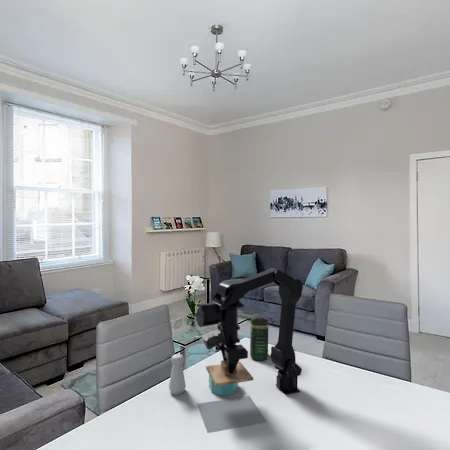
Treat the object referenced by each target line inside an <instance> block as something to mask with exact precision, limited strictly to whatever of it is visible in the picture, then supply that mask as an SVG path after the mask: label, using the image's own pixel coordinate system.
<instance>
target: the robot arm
mask: <svg viewBox="0 0 450 450" xmlns="http://www.w3.org/2000/svg"><path fill="white" fill-rule="evenodd" d="M272 283H273V284H274V285H276V286H277V287H278V294H279V295H278V296H279V298H280V300H281V306H280V307H281V310H280V318H279V328H278V338H277V343H276V344H275V345H274V346H271V347H270V355H269V358H270V361H271V363H272V364H273V366H274V368H275V369H276V370H277V374H276V380H275V381H276V384H275V386H276V388H277V389H278V390H279V391H280V392H281V393H282V394H284V395H289V394H294V393H295V394H297V393H300V392H301V390H300V389H299V388H298V378H299V376H301V374H302V371H303V369H302V367H301V366H300V365H298V364H297V362H296V361H297V360H296V353H295V349H294V347H293V339H294V330H295V329H294V327H295V319H296V317H295V316H296V306H297V304H298V302H299V300H300V298H301V297H302V293H303V290H304V284H303V282H302V281H301V280H300V279H298V278H294V277H292V276H290V275H288V274H286V273H284V272H283V271H281V270H280V269H277V268H273V267H270V268H268V269H267V270H264V271H261V272H259V273H256V274H252V275H250V276H248V277H244V278H242V279H231V280H225V281H222V282H220V283H219V285H218V287H217V289H216V292H215V294H214V295H213V296H212V298H211V300H210V302H209V303H199V304H198V308H197V309H196V313H195V319H196V324H197V325H198V327H200V328H202V327H203V328H205V327H210V326H217V327H216V329H214V330H211V331H209V332H206V333H205V334H202V336H201V339H202V342H203V343H204V344H203V345H204V346H205V348H206V349H207V350H211V349H213V348H215V347H217V348H218V349H219V350H220V352H221V356H222V361H223V360H227V362H228V369H229V373H230V374H232V373H233V372H234V370H235V368H236V366H237V364H238V362H240V360H245V359H246V360H247V358H249V353H248V352H249V351H248V350H247V348H246V347H244V346H243V345H242V344H241V343H240V342H241V340H240V338H239V333H238V332H239V330H240V329H241V326H240V325H239V320H238V319H239V315H238V314H239V310H238V309H239V308H243V307H244V306H245V305H244V304H243V303H242V302H241V301H240V300H242V299H243V298H244V297H245V296H246V294H248V293H249V292H252V291H254V290H257V289H259V288H262V287H265V286H267V285H270V284H272ZM238 343H240V344H238Z"/></svg>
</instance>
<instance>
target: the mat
mask: <svg viewBox="0 0 450 450" xmlns="http://www.w3.org/2000/svg"><path fill="white" fill-rule="evenodd" d="M196 405H197V408H198V410H199V413H200V416H201V420H202V421H203V424H204V427H205V429H206V432H207V434H210V433H214V432H221V431H224V430H225V431H226V430H231V429H236V428H242V427H247V426H253V425H258V424H264V423H267V422H268V421H267V419H266V418H265V416H264V415H263V413H262V412H261V410H259V408H258V406H257V404H256V403H255V402H254V401H253V399H252V398H251V396H250V395H245V396H240V397H233V398H227V399H220V400H219V399H218V400H213V401H206V402H201V403H200V402H199V403H196Z"/></svg>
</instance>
